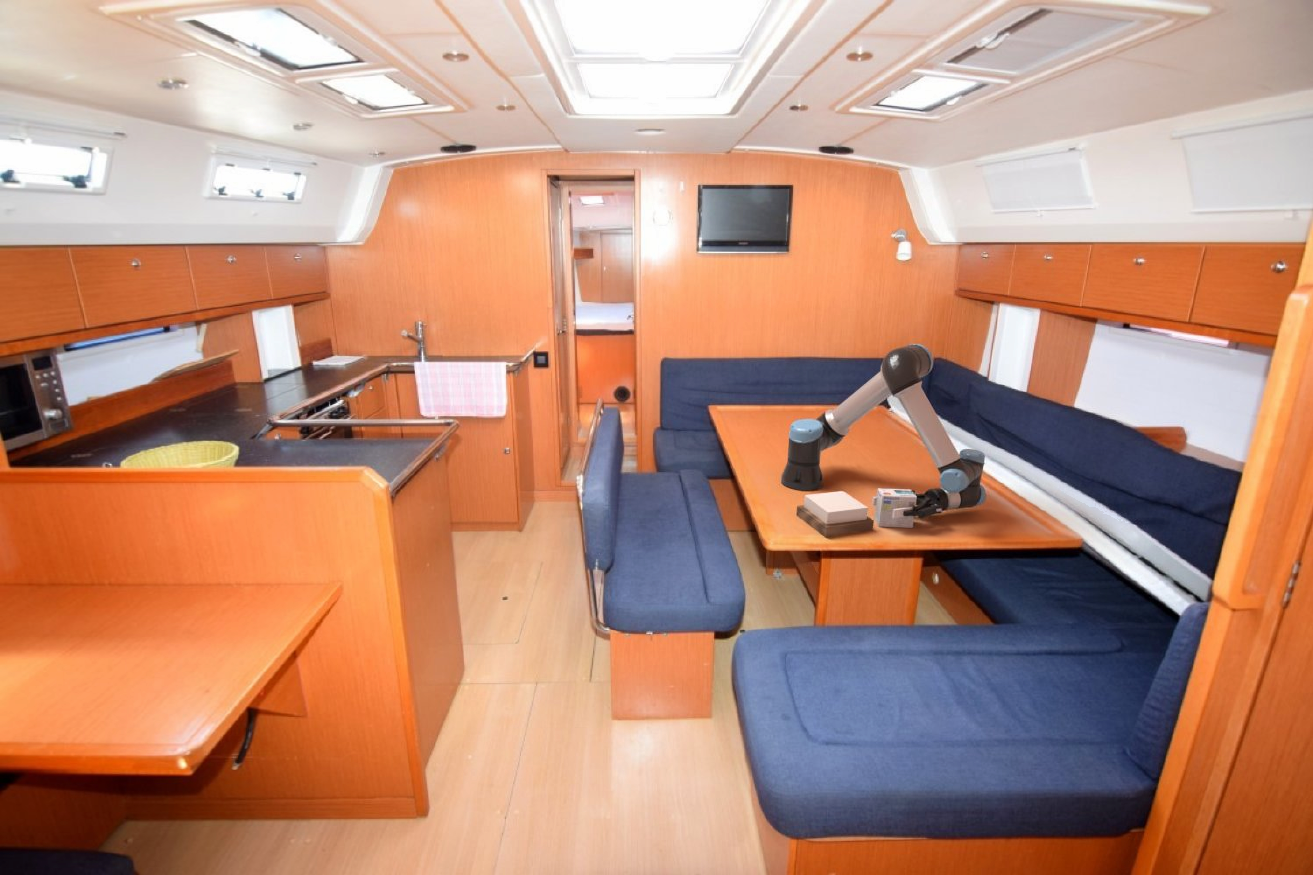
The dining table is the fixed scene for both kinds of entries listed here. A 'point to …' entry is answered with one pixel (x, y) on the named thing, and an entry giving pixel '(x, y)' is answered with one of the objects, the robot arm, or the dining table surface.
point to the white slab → (835, 507)
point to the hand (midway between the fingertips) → (883, 507)
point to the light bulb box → (894, 507)
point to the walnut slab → (836, 528)
